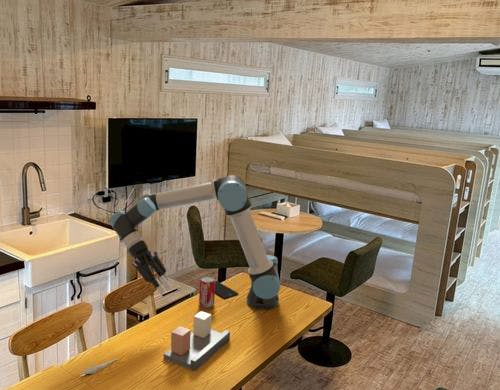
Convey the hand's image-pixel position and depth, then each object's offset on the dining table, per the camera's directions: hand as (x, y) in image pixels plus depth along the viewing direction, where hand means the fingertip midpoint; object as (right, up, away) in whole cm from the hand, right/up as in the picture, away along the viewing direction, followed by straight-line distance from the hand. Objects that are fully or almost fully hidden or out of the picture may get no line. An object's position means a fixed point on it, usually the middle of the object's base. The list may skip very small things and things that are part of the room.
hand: (166, 291), depth 186 cm
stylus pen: (-19, -22, -26) cm, 39 cm away
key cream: (+15, -16, -5) cm, 22 cm away
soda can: (+14, -12, +24) cm, 30 cm away
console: (+14, -20, -12) cm, 27 cm away
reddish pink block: (+8, -18, -17) cm, 26 cm away
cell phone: (+19, -8, +40) cm, 45 cm away
